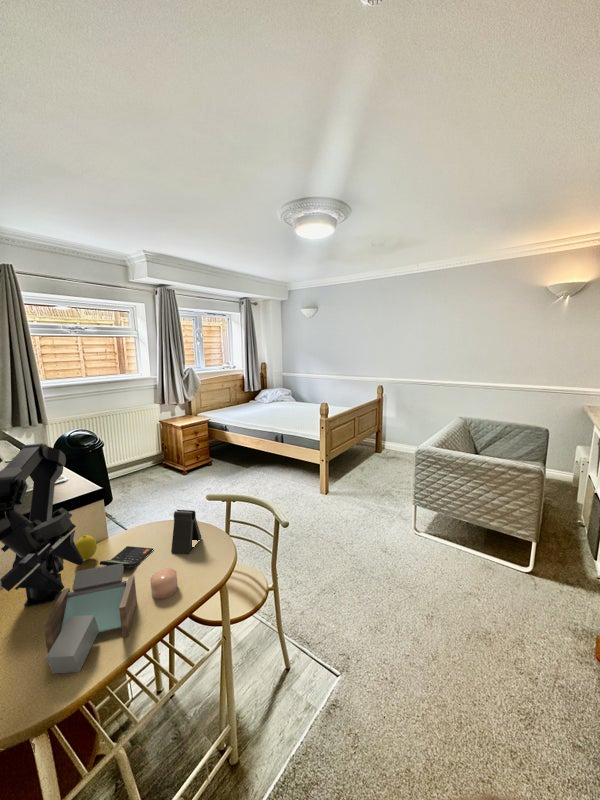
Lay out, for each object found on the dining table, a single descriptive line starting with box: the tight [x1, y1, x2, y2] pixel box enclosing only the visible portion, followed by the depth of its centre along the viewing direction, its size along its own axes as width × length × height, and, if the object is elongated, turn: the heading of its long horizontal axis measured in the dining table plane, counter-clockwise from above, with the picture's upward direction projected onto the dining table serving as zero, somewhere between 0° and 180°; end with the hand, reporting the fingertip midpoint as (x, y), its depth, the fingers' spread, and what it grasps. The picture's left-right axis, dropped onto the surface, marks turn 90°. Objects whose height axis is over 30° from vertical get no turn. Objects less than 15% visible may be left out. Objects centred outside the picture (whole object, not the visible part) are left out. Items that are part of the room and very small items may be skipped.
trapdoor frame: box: [43, 574, 138, 654], centre depth 77 cm, size 15×11×7 cm
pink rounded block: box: [149, 567, 179, 600], centre depth 88 cm, size 6×6×4 cm
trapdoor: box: [61, 563, 127, 634], centre depth 78 cm, size 12×14×2 cm
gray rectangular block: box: [45, 615, 99, 675], centre depth 68 cm, size 5×5×8 cm
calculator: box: [99, 545, 154, 568], centre depth 102 cm, size 9×12×3 cm
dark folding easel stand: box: [170, 509, 203, 555], centre depth 108 cm, size 9×6×12 cm, turn 171°
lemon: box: [75, 534, 98, 561], centre depth 102 cm, size 6×6×8 cm
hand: (73, 575), depth 75 cm, fingers open, 9 cm apart
